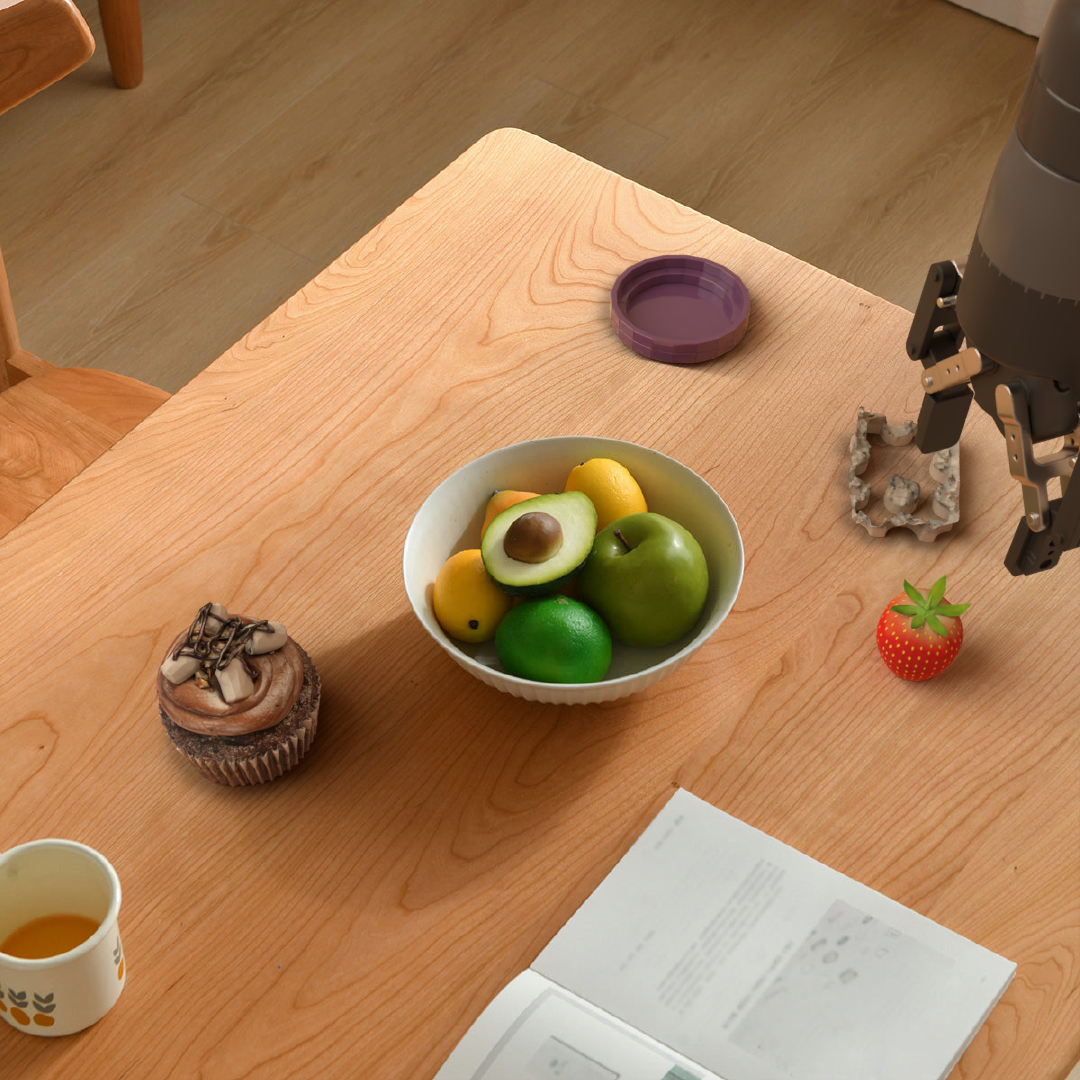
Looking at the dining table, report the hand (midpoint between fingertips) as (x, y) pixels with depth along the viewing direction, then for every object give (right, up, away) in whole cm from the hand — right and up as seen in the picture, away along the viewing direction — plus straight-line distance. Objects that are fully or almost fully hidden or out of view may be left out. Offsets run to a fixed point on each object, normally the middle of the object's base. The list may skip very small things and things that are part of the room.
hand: (978, 504), depth 67 cm
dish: (-11, +16, +42) cm, 47 cm away
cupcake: (-39, -14, +17) cm, 45 cm away
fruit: (+2, -10, +20) cm, 23 cm away
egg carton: (+4, +1, +30) cm, 30 cm away
